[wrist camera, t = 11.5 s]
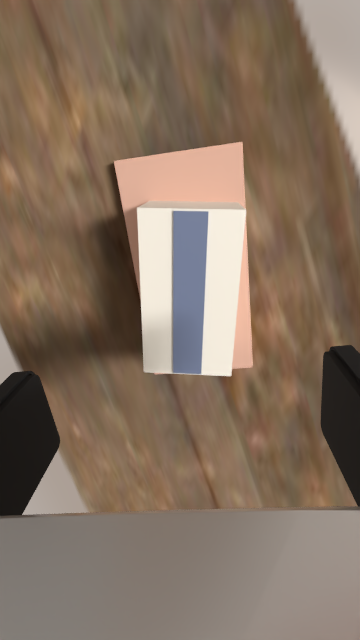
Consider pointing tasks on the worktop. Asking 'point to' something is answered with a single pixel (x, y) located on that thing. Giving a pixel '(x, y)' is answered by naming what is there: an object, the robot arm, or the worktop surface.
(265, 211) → the worktop surface
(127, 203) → the mat
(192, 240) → the card box
